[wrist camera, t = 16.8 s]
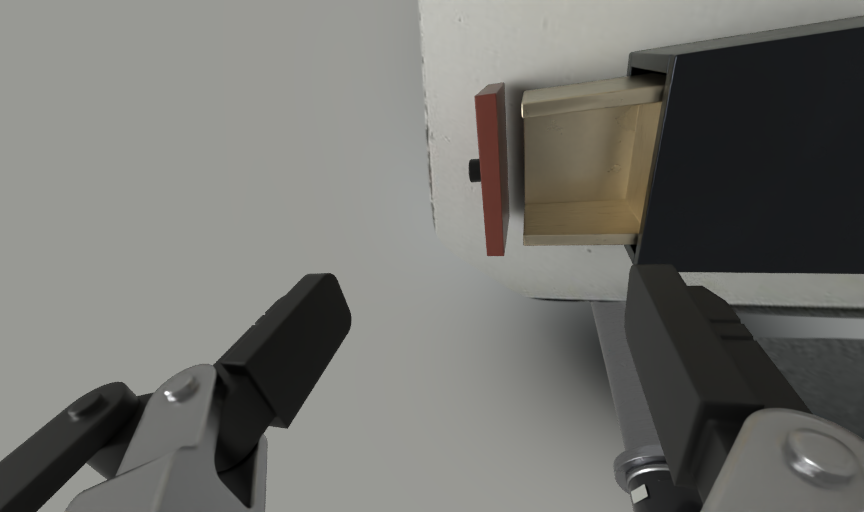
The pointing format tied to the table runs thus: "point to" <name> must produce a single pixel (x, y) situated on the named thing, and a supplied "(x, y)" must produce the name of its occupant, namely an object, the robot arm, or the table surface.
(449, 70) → the table surface
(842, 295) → the table surface
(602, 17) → the table surface
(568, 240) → the cabinet drawer
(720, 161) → the drawer cabinet
